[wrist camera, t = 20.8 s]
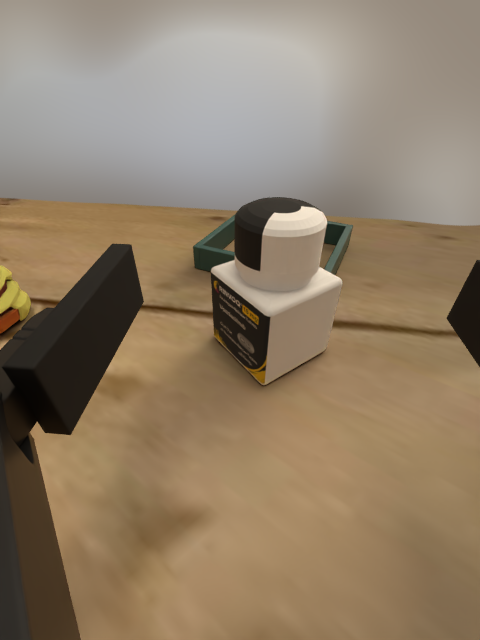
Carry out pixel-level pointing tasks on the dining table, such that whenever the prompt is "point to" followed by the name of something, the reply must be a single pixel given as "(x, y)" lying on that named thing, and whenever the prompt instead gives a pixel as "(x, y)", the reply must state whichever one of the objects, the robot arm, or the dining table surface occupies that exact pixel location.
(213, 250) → the tray
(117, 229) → the dining table surface
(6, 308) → the cheeseburger
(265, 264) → the medicine bottle
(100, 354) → the robot arm
